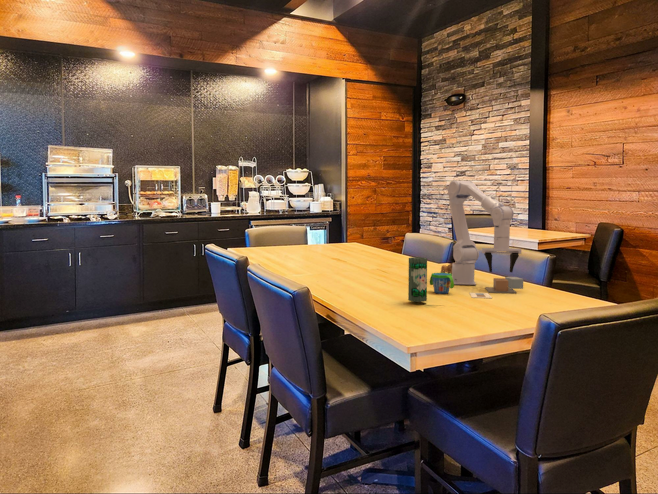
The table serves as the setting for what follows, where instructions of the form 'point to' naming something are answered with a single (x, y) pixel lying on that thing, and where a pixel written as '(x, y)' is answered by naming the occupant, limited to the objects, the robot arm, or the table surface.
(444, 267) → the lion figurine
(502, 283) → the brown brick
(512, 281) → the grey brick
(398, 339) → the table surface
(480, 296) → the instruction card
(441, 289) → the snack cup
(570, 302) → the table surface
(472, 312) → the table surface
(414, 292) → the can
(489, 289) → the baseplate
